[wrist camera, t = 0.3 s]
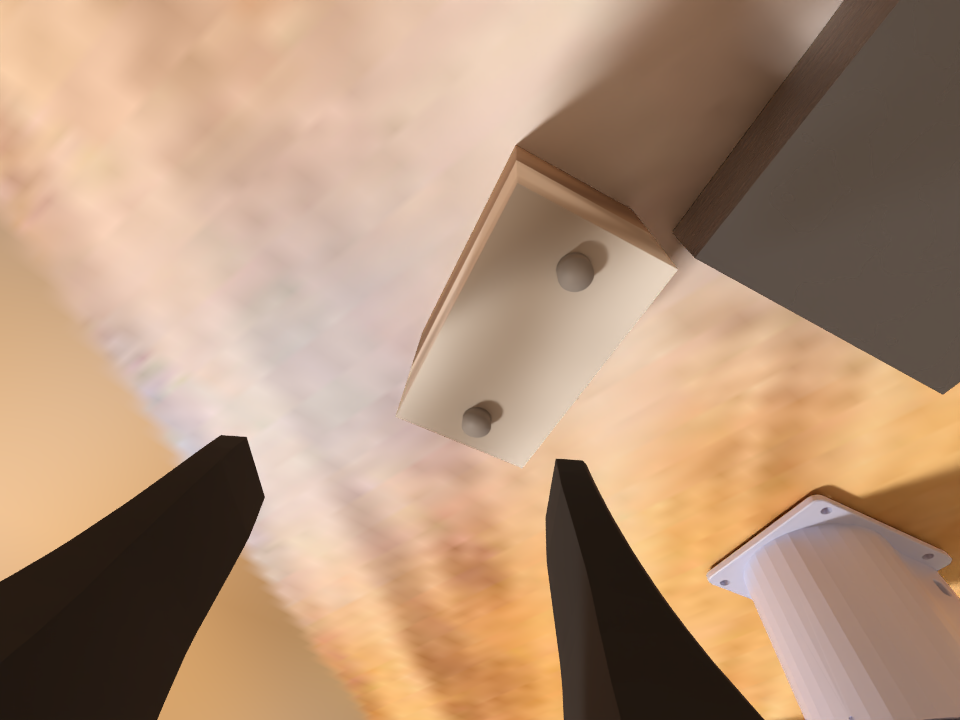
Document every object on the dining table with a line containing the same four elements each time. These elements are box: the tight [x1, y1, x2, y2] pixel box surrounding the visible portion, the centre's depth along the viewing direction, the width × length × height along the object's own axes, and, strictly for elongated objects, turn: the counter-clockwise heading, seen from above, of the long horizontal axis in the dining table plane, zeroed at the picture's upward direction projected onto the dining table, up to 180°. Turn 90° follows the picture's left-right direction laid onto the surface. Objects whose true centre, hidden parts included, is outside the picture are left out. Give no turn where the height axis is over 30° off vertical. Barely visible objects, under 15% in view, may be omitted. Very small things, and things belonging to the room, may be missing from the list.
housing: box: [396, 145, 678, 468], centre depth 16 cm, size 5×8×6 cm, turn 154°
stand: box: [672, 0, 960, 394], centre depth 14 cm, size 11×10×2 cm
